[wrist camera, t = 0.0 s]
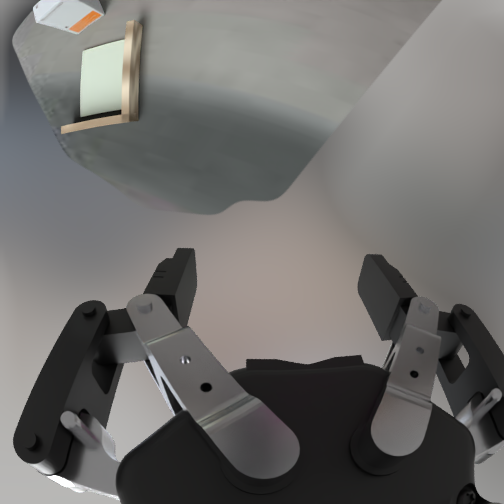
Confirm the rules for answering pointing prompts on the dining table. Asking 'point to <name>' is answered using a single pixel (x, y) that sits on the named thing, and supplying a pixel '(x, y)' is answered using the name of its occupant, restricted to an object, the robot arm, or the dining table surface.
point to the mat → (102, 79)
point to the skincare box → (68, 14)
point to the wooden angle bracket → (128, 83)
